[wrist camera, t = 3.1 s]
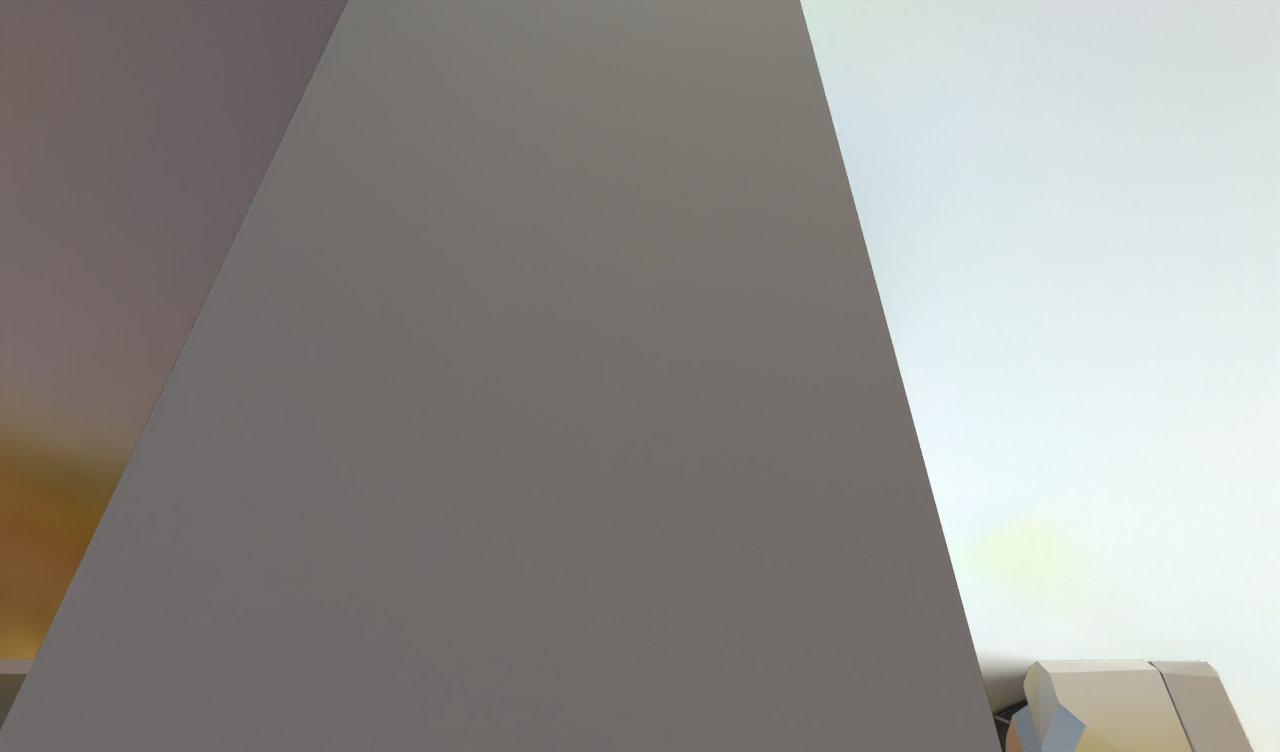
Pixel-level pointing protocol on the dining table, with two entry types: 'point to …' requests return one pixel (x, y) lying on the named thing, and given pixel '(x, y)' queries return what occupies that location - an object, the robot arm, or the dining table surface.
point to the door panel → (530, 423)
